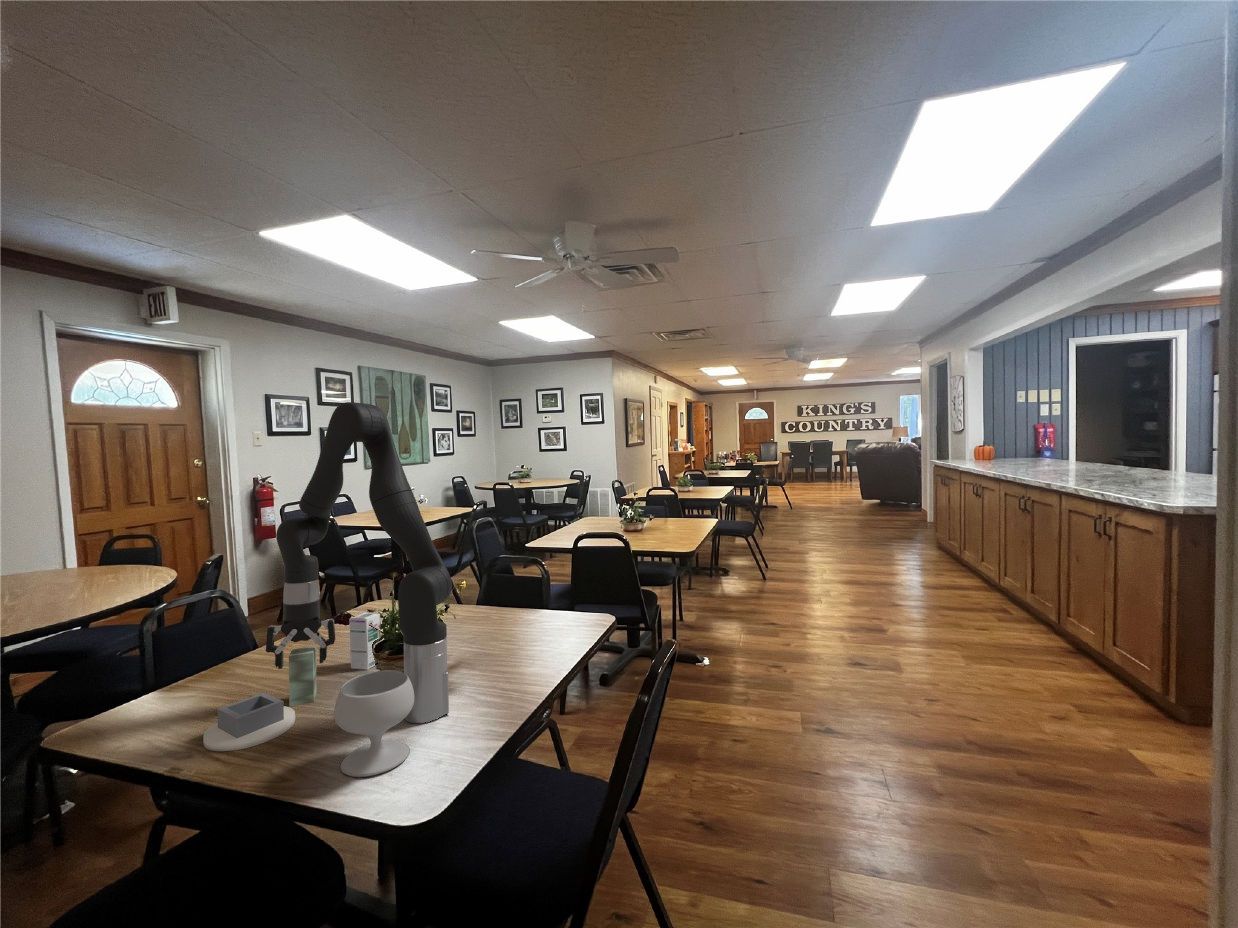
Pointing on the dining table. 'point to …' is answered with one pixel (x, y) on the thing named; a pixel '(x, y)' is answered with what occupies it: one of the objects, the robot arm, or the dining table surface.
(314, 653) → the square peg
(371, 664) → the syrup box
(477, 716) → the dining table surface
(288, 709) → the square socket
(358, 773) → the chalice
